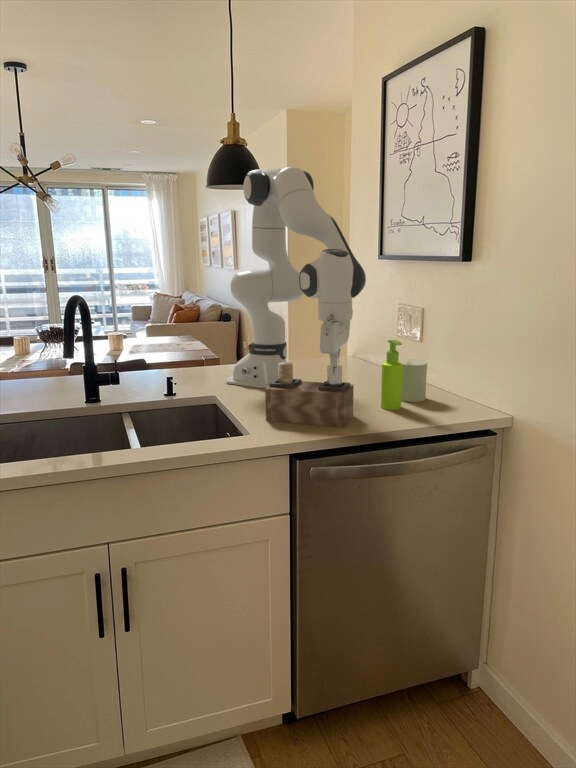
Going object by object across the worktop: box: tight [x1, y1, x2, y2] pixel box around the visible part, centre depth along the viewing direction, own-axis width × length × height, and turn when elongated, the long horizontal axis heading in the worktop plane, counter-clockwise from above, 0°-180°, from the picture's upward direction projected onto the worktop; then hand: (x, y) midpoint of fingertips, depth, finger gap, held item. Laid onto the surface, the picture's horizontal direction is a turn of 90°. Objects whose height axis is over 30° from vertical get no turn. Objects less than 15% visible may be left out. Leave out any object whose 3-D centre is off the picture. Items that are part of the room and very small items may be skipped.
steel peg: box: [326, 364, 343, 387], centre depth 151 cm, size 4×4×8 cm
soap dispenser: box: [380, 339, 403, 411], centre depth 163 cm, size 6×7×20 cm
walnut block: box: [264, 378, 354, 428], centre depth 155 cm, size 22×11×10 cm, turn 71°
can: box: [398, 358, 428, 403], centre depth 174 cm, size 9×9×12 cm
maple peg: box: [278, 361, 294, 384], centre depth 156 cm, size 4×4×8 cm
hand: (334, 364), depth 150 cm, fingers closed
